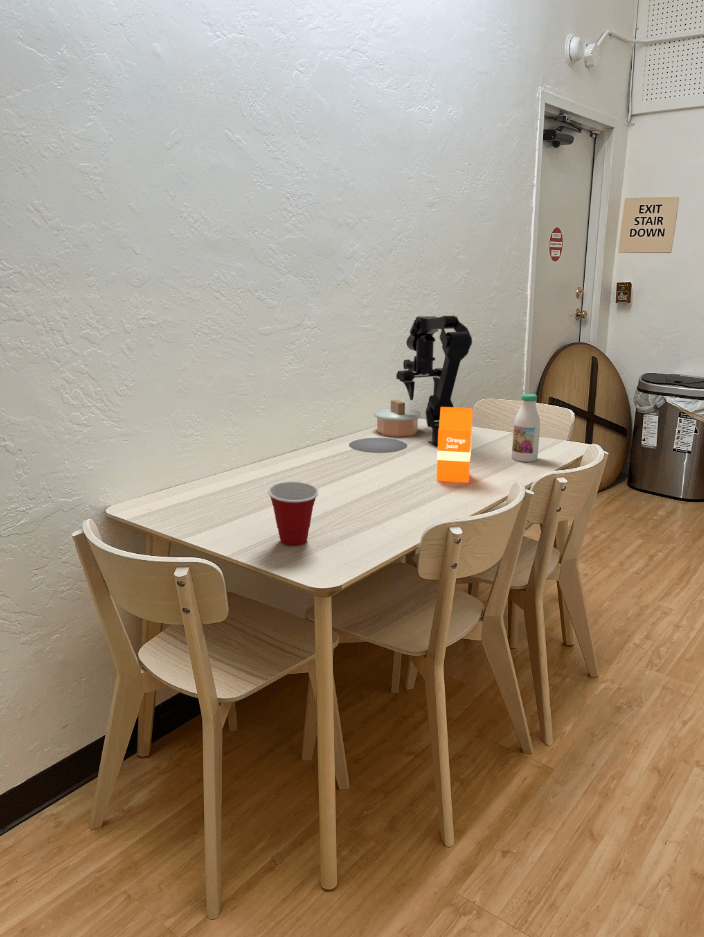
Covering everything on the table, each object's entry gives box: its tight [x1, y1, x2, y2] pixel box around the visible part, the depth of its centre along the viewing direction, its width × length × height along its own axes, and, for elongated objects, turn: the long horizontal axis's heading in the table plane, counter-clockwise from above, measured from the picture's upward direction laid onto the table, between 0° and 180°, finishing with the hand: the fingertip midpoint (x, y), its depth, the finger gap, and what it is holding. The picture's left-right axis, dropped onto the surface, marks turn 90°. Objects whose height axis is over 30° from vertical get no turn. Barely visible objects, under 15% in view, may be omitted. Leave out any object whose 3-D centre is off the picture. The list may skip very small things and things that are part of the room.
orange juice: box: [436, 406, 473, 483], centre depth 197 cm, size 8×9×20 cm
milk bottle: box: [511, 393, 541, 463], centre depth 215 cm, size 8×8×20 cm
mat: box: [348, 437, 408, 454], centre depth 232 cm, size 19×19×1 cm
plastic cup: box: [267, 481, 319, 547], centre depth 153 cm, size 11×11×12 cm
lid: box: [374, 399, 422, 421], centre depth 247 cm, size 16×16×5 cm
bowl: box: [376, 417, 419, 438], centre depth 249 cm, size 13×13×6 cm
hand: (423, 399), depth 246 cm, fingers open, 9 cm apart
